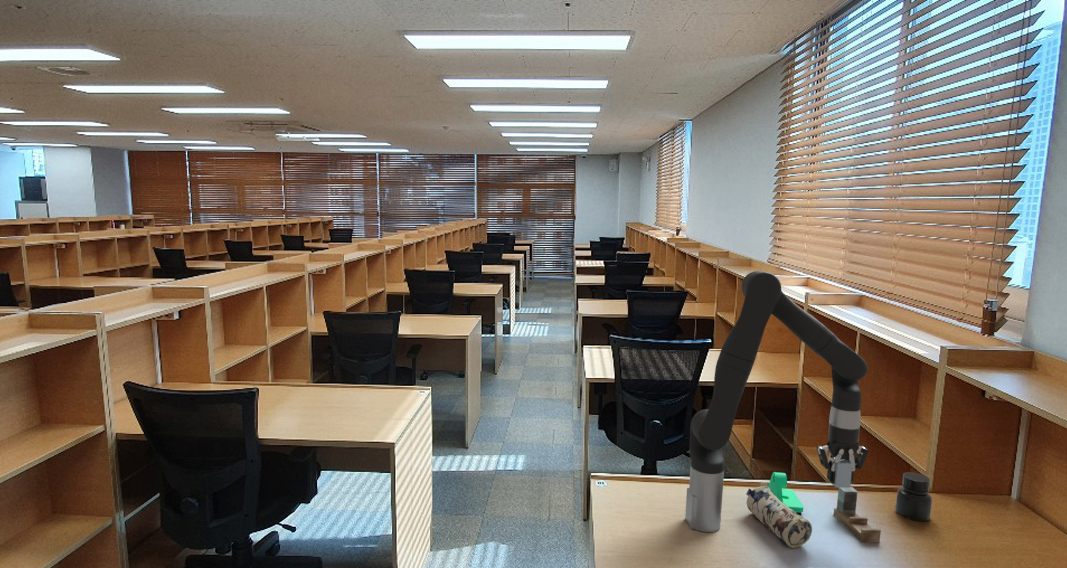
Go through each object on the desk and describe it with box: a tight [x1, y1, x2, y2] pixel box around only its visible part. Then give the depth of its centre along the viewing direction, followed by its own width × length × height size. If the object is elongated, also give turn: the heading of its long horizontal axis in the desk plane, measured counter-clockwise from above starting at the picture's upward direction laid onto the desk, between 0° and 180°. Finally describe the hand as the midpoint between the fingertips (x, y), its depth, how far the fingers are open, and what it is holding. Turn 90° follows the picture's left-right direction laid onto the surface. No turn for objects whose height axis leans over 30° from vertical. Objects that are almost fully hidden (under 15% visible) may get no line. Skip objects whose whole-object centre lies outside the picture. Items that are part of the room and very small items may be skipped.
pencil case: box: [745, 481, 813, 549], centre depth 170 cm, size 22×8×10 cm, turn 11°
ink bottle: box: [895, 471, 933, 522], centre depth 181 cm, size 10×9×12 cm
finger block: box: [830, 457, 852, 489], centre depth 167 cm, size 4×4×7 cm
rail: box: [833, 486, 882, 543], centre depth 173 cm, size 5×15×9 cm, turn 1°
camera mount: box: [767, 471, 804, 513], centre depth 185 cm, size 12×8×10 cm, turn 173°
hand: (839, 482), depth 167 cm, fingers closed on finger block, 4 cm apart
